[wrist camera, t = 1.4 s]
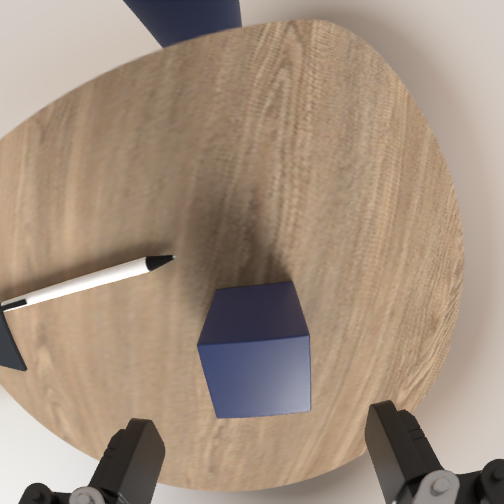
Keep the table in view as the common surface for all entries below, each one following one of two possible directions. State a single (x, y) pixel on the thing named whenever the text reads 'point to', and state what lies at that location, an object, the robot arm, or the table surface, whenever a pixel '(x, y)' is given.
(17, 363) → the mat
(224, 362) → the block
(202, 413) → the table surface
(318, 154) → the table surface
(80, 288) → the pen
